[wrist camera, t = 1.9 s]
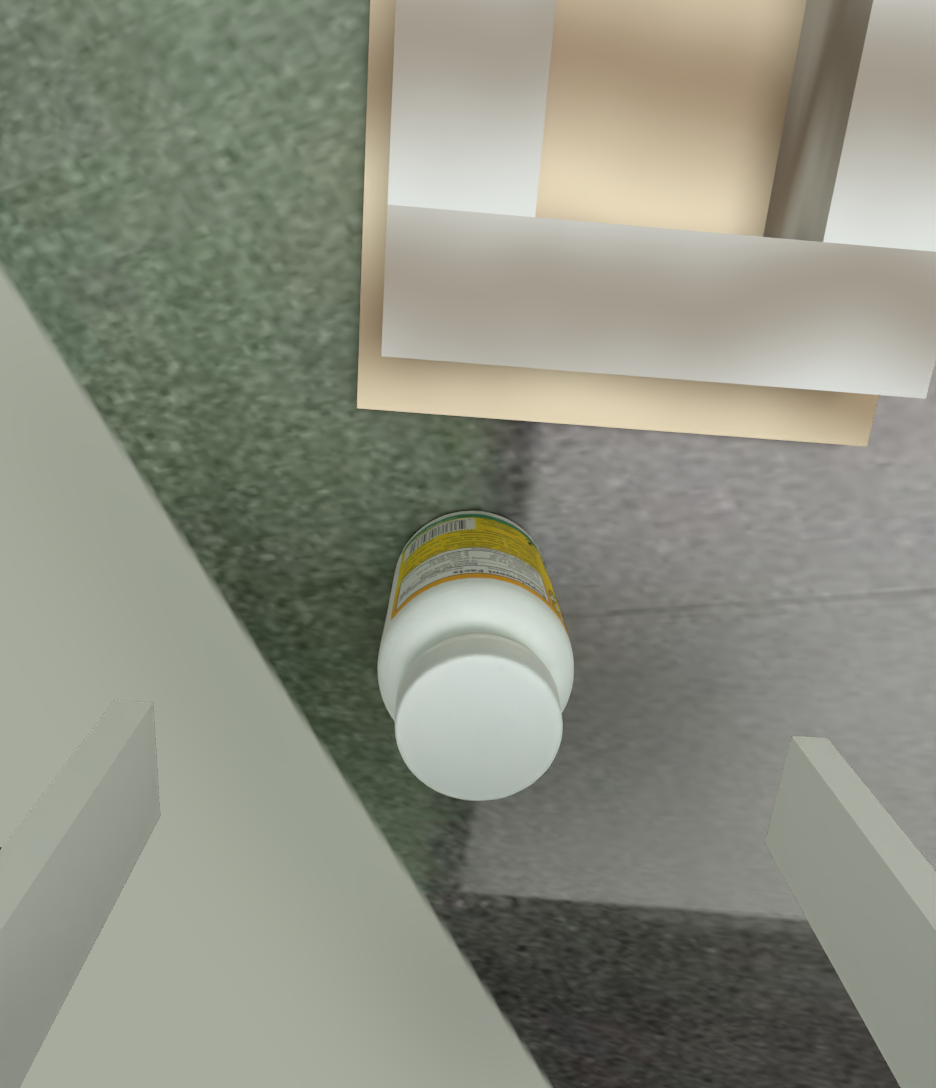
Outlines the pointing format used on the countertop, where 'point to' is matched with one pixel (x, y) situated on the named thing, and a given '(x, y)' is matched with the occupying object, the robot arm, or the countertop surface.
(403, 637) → the supplement bottle
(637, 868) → the countertop surface
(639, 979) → the countertop surface
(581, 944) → the countertop surface
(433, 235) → the block
